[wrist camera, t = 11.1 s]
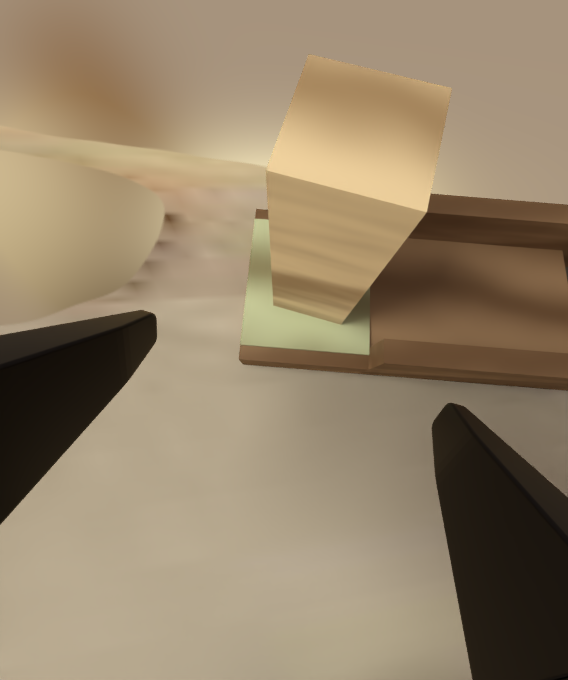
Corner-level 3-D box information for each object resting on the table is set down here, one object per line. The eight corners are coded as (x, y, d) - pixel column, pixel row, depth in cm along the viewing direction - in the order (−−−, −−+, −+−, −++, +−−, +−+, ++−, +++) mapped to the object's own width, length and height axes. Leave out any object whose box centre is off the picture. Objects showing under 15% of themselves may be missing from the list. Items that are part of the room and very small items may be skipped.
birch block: (340, 324, 20) (426, 212, 8) (273, 305, 20) (265, 170, 9) (356, 263, 21) (451, 88, 10) (292, 245, 21) (308, 54, 10)
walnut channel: (621, 394, 22) (731, 391, 17) (243, 364, 22) (231, 351, 17) (594, 255, 25) (682, 213, 19) (258, 228, 25) (252, 179, 19)
